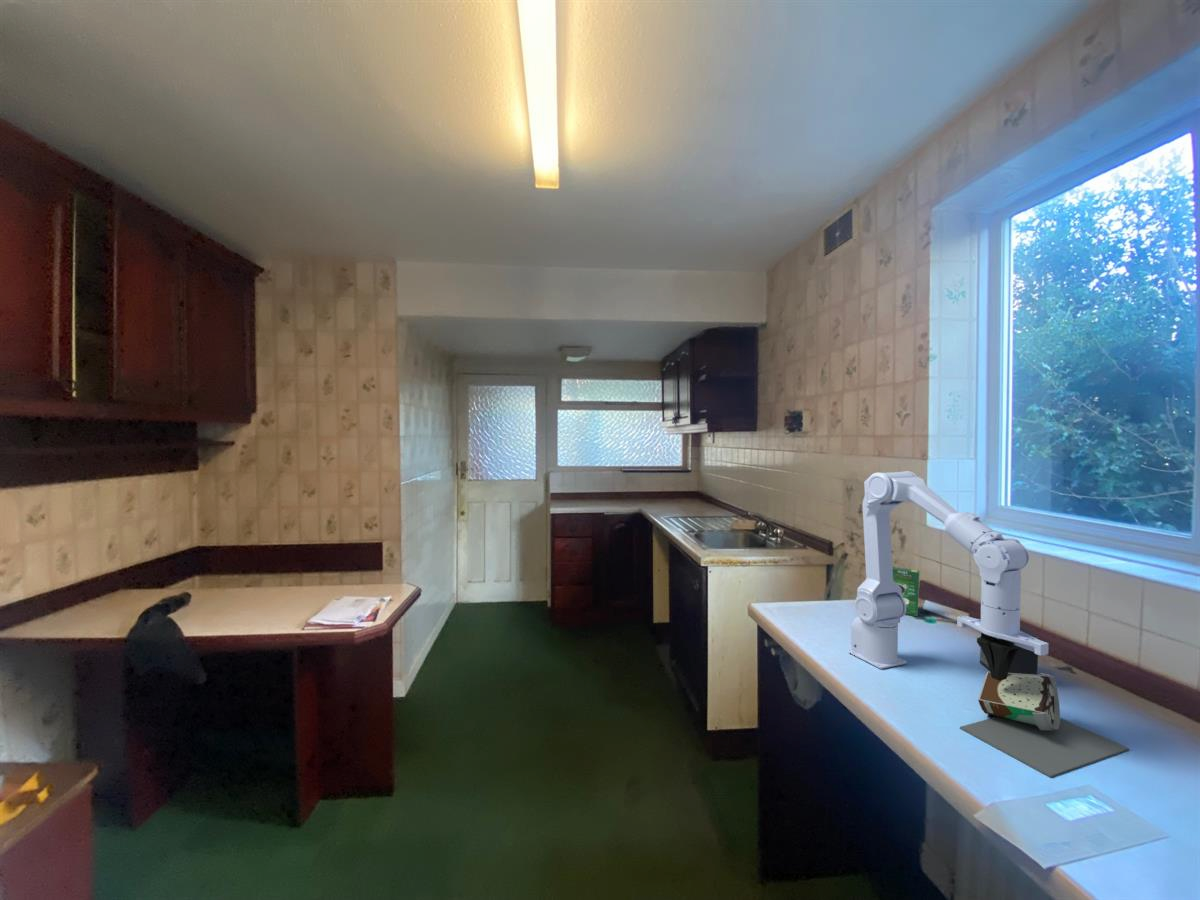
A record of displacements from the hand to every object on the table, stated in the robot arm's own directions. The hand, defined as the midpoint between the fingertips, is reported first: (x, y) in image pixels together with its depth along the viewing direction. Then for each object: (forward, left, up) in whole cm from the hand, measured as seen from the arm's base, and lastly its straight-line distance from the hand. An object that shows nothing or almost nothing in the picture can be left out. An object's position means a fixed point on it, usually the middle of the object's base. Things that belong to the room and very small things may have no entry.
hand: (998, 678), depth 95 cm
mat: (+7, 0, -7) cm, 10 cm away
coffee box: (-47, +32, -8) cm, 57 cm away
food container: (-3, +1, -6) cm, 6 cm away
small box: (-11, +20, -8) cm, 24 cm away
